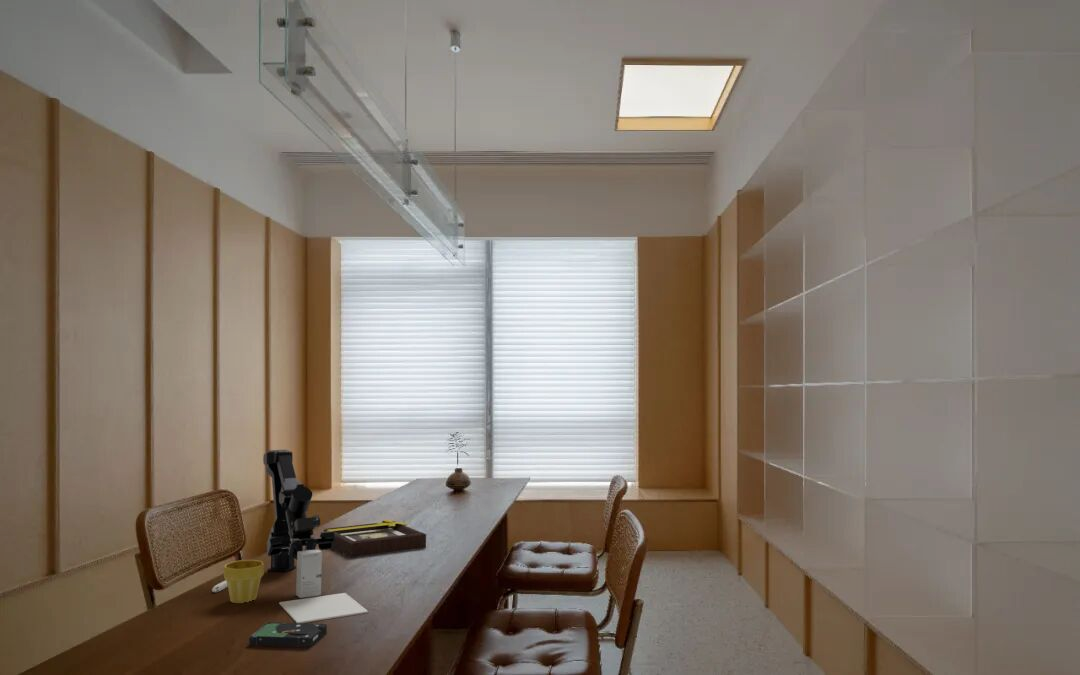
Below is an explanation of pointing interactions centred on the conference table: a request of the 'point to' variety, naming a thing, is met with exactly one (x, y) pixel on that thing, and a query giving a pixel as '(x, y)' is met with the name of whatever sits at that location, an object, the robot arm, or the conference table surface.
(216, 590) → the marker
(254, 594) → the plant pot
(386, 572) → the conference table surface
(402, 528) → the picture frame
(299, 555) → the skincare box
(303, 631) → the disk drive
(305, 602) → the mat
